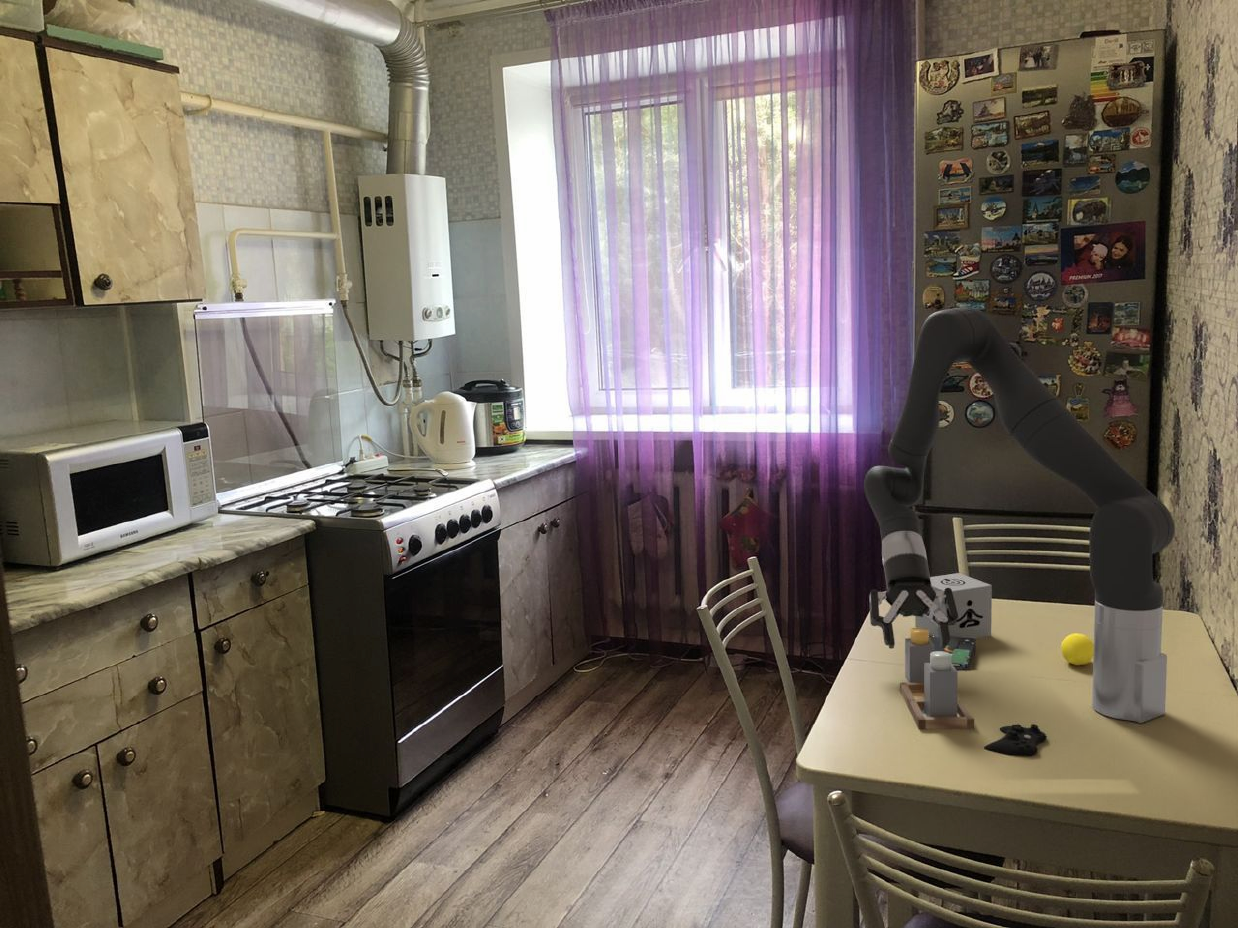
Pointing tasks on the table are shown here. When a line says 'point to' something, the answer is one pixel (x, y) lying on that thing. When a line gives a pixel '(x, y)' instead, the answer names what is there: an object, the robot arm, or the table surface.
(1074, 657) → the lemon
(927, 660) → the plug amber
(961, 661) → the disk drive
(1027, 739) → the game controller
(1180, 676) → the table surface
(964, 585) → the icon cube
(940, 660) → the plug grey
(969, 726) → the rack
